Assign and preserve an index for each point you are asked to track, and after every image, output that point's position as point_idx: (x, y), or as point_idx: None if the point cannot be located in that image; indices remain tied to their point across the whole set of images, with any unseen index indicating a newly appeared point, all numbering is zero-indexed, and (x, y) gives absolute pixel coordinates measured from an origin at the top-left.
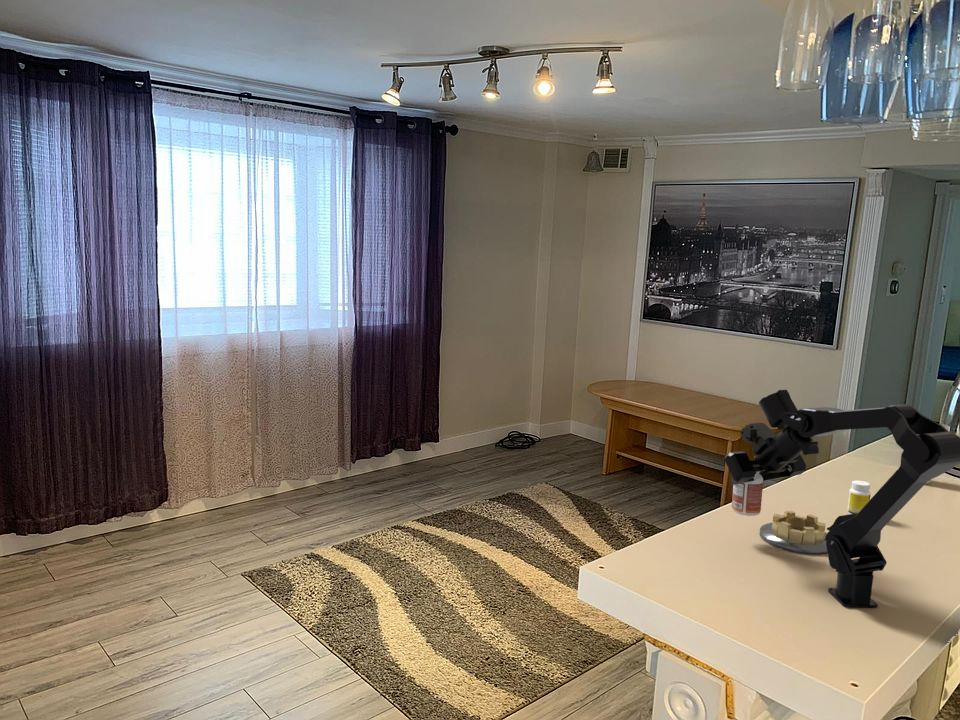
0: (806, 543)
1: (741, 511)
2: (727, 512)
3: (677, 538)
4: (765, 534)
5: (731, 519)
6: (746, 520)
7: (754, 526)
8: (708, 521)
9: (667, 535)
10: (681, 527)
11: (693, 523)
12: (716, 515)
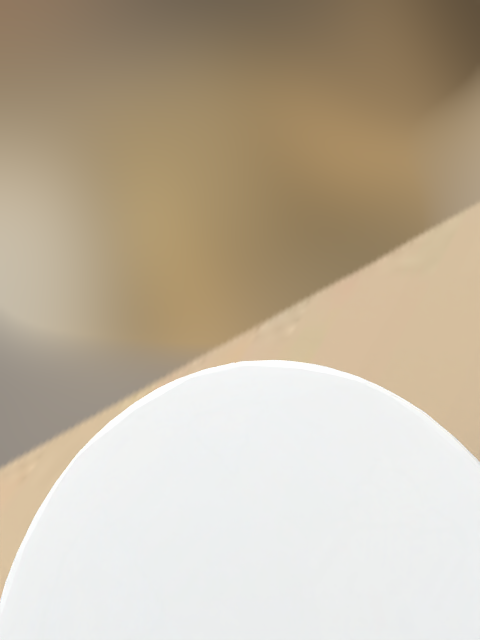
0: None
1: None
2: (392, 279)
3: (22, 516)
4: None
5: (375, 345)
6: (444, 360)
7: (456, 429)
8: (262, 358)
9: (8, 478)
10: (116, 405)
11: (188, 372)
12: (329, 305)
